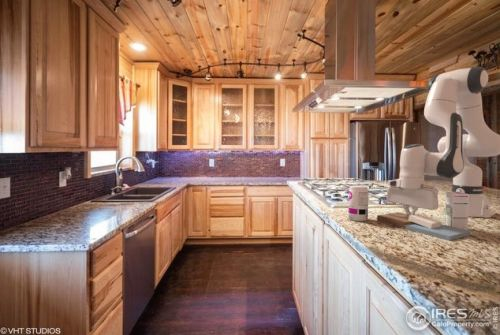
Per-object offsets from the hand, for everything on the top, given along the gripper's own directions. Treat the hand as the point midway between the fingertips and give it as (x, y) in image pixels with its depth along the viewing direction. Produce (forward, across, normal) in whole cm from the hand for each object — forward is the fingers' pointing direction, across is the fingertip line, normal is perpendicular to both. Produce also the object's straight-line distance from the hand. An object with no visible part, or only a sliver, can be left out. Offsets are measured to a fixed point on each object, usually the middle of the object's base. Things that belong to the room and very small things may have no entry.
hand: (410, 216), depth 114 cm
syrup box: (+4, -12, -11) cm, 16 cm away
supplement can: (+4, +16, +12) cm, 21 cm away
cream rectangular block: (+2, -6, 0) cm, 6 cm away
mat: (+4, -11, 0) cm, 11 cm away
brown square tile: (+4, +4, 0) cm, 5 cm away
